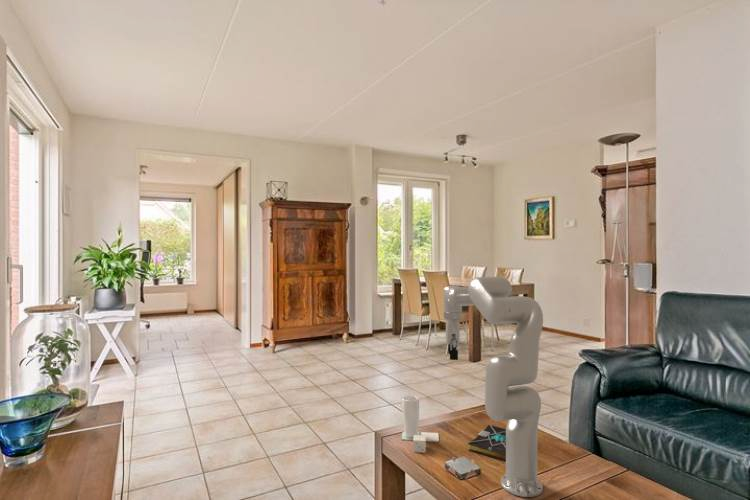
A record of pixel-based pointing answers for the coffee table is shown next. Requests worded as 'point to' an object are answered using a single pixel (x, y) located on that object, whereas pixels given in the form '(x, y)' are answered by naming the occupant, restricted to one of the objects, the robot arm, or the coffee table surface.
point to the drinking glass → (410, 415)
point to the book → (490, 443)
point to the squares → (429, 436)
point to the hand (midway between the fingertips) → (452, 356)
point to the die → (419, 443)
